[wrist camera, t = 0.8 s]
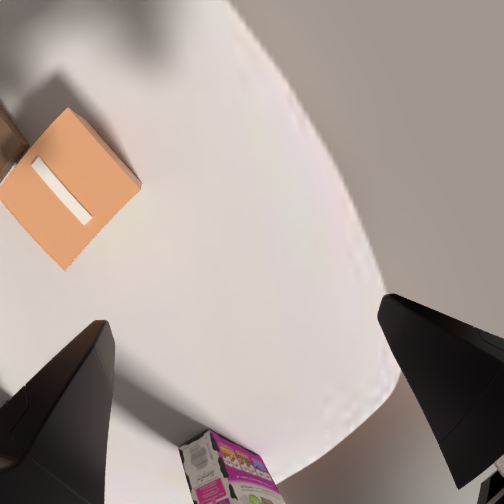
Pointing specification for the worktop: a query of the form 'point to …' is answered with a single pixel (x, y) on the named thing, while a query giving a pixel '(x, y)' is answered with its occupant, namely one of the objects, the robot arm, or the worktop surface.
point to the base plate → (9, 144)
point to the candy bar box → (226, 473)
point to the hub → (67, 187)
